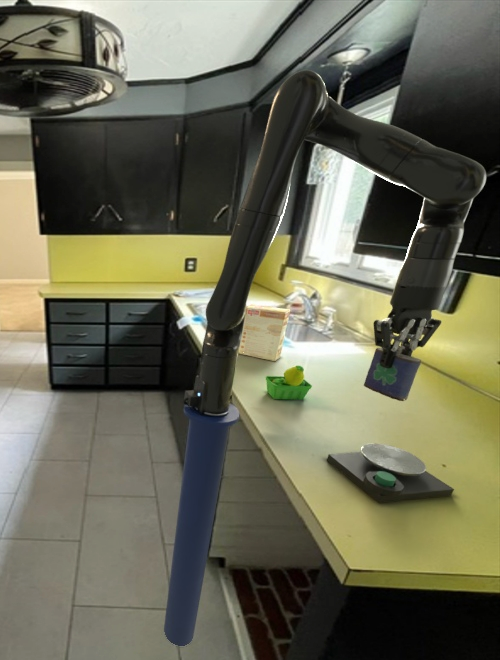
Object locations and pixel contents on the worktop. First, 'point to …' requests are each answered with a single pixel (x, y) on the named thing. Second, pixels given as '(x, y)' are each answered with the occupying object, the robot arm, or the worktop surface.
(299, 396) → the fruit basket
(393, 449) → the scale pan
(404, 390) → the flask
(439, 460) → the worktop surface
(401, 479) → the scale
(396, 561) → the worktop surface
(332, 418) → the worktop surface
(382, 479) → the tare button
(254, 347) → the coffeecake box
